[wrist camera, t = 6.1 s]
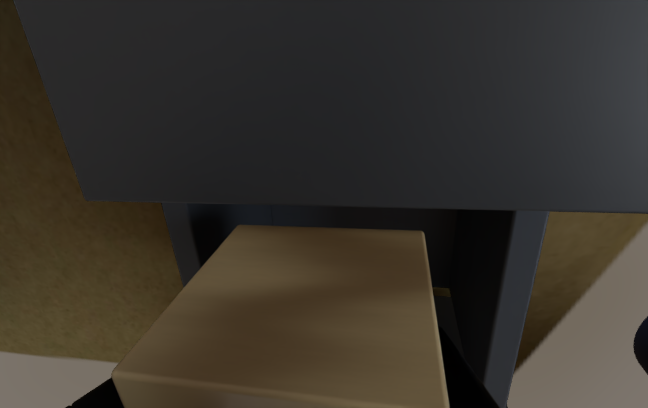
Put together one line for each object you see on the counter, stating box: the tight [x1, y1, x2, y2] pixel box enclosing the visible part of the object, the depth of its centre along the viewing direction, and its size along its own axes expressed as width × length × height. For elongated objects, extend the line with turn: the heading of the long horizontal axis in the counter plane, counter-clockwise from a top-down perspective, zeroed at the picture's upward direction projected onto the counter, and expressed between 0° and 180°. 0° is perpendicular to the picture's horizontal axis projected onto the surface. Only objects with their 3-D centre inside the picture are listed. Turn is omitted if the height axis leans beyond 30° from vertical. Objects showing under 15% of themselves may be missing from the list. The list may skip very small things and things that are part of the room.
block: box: [111, 225, 450, 408], centre depth 7 cm, size 4×4×4 cm
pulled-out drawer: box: [161, 203, 550, 408], centre depth 15 cm, size 18×11×8 cm, turn 3°
